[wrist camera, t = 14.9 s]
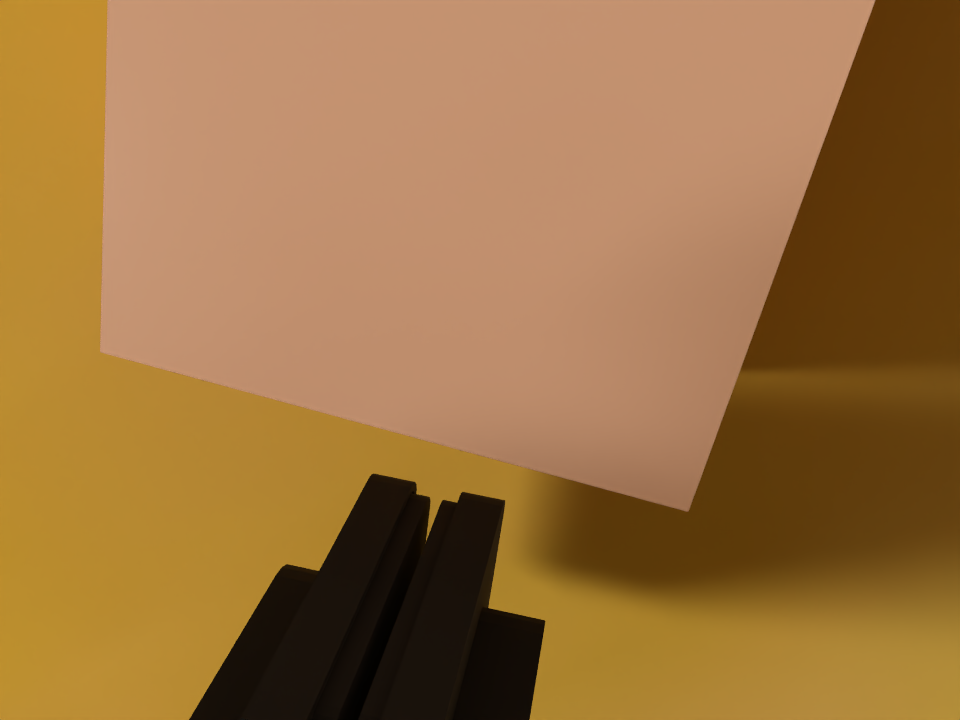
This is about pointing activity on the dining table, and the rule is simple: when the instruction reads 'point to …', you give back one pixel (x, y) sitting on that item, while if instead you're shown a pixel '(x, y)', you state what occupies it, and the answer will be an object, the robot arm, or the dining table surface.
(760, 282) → the slab
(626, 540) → the dining table surface
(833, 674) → the dining table surface
